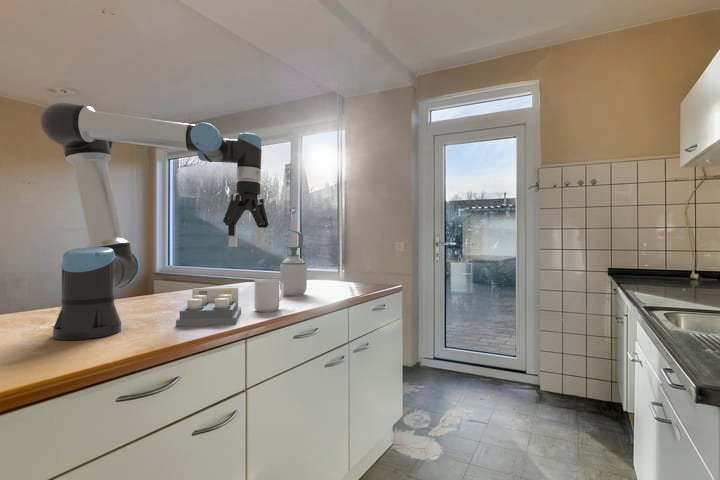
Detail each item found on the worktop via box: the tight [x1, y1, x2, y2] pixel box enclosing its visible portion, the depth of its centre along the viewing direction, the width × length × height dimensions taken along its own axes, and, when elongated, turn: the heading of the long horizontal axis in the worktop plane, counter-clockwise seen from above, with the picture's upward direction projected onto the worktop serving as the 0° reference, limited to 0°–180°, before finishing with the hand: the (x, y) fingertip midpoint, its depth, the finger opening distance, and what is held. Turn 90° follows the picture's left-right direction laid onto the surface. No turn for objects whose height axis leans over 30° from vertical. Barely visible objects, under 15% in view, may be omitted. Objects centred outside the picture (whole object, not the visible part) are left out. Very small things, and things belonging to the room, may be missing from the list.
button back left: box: [193, 295, 207, 306], centre depth 124 cm, size 4×4×3 cm
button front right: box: [215, 298, 229, 309], centre depth 117 cm, size 4×4×3 cm
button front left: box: [186, 298, 202, 310], centre depth 116 cm, size 4×4×3 cm
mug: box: [253, 278, 285, 313], centre depth 139 cm, size 12×9×11 cm
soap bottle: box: [279, 228, 308, 297], centre depth 176 cm, size 12×12×31 cm
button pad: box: [175, 287, 242, 327], centre depth 122 cm, size 17×18×9 cm
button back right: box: [219, 294, 232, 305], centre depth 125 cm, size 4×4×3 cm
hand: (246, 246), depth 122 cm, fingers open, 13 cm apart
